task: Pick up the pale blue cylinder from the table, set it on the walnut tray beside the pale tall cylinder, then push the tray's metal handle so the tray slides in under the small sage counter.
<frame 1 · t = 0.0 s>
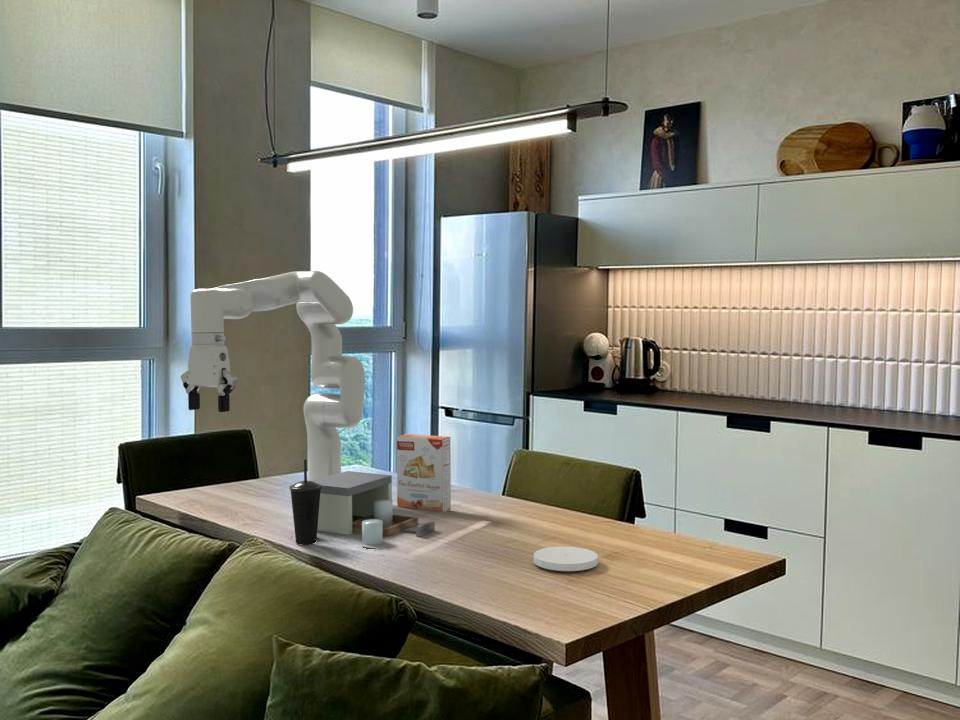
hand: (209, 410, 218), 31 cm above the table, tool pointing down, fingers open, 9 cm apart
cracker box: (423, 511, 249), on the table
pale tall cylinder b: (383, 524, 228), point 1 cm above the table, touching tray
plastic lid: (565, 567, 196), on the table
tray: (394, 526, 223), point 2 cm above the table, slide at 10.0 cm, touching pale tall cylinder b
counter: (348, 527, 230), on the table
pale blue cylinder a: (372, 546, 211), on the table
drinking cup: (306, 543, 215), on the table
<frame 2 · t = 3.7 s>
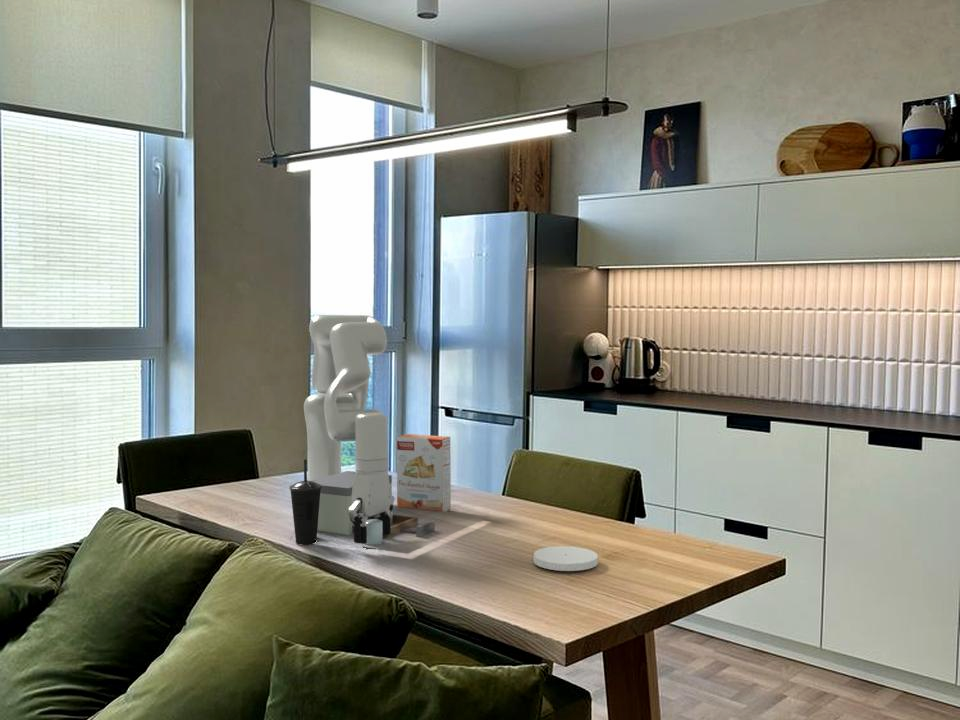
hand: (372, 538, 210), 2 cm above the table, tool pointing down, fingers open, 9 cm apart
tray: (394, 526, 223), point 2 cm above the table, slide at 10.0 cm, touching pale tall cylinder b, gripper
everything else where it was.
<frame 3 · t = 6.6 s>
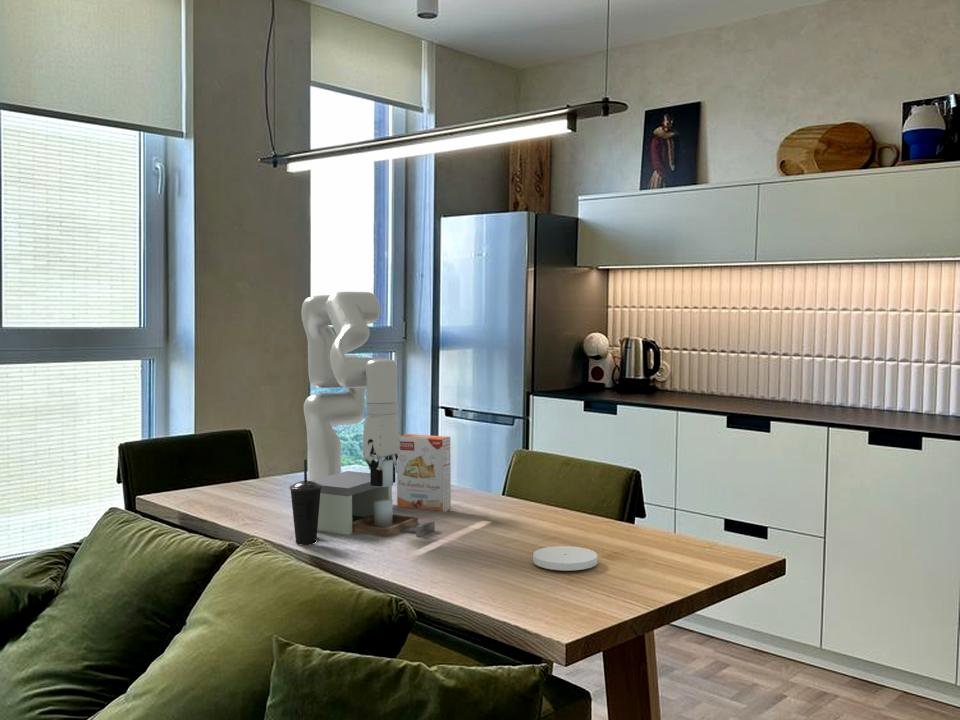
hand: (383, 483, 220), 13 cm above the table, tool pointing down, fingers closed on pale blue cylinder a, 4 cm apart
tray: (394, 526, 223), point 2 cm above the table, slide at 10.0 cm, touching pale tall cylinder b
pale blue cylinder a: (383, 485, 220), point 13 cm above the table, touching gripper
everything else where it was.
when the fingers open (3 cm above the table, at t = 8.2 s): pale blue cylinder a drops 2 cm, resting on tray.
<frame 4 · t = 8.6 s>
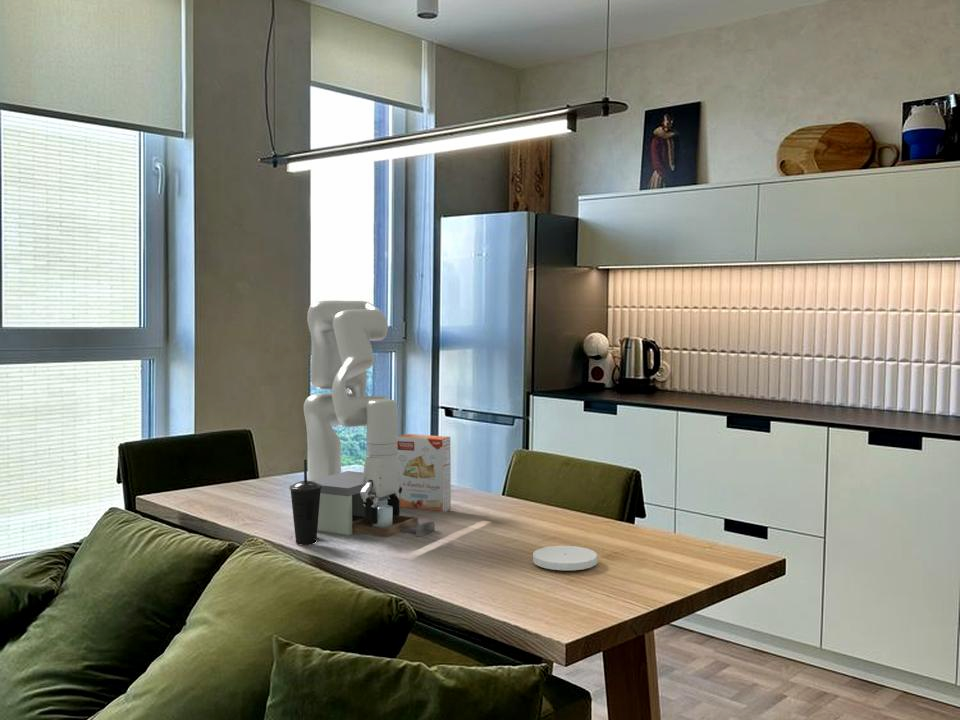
hand: (382, 519, 221), 4 cm above the table, tool pointing down, fingers open, 9 cm apart
tray: (394, 526, 223), point 2 cm above the table, slide at 10.0 cm, touching pale blue cylinder a, pale tall cylinder b
pale blue cylinder a: (382, 531, 221), point 1 cm above the table, touching tray
everything else where it was.
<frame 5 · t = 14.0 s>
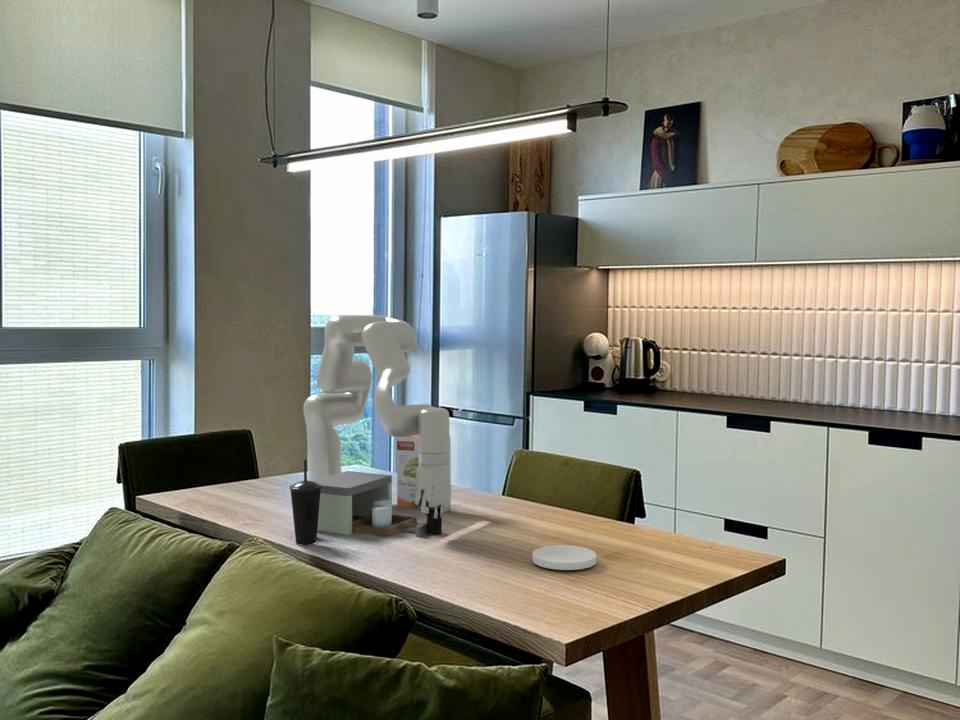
hand: (434, 533, 219), 1 cm above the table, tool pointing down, fingers closed
tray: (393, 526, 223), point 2 cm above the table, slide at 9.8 cm, touching pale blue cylinder a, pale tall cylinder b, gripper
everything else where it was.
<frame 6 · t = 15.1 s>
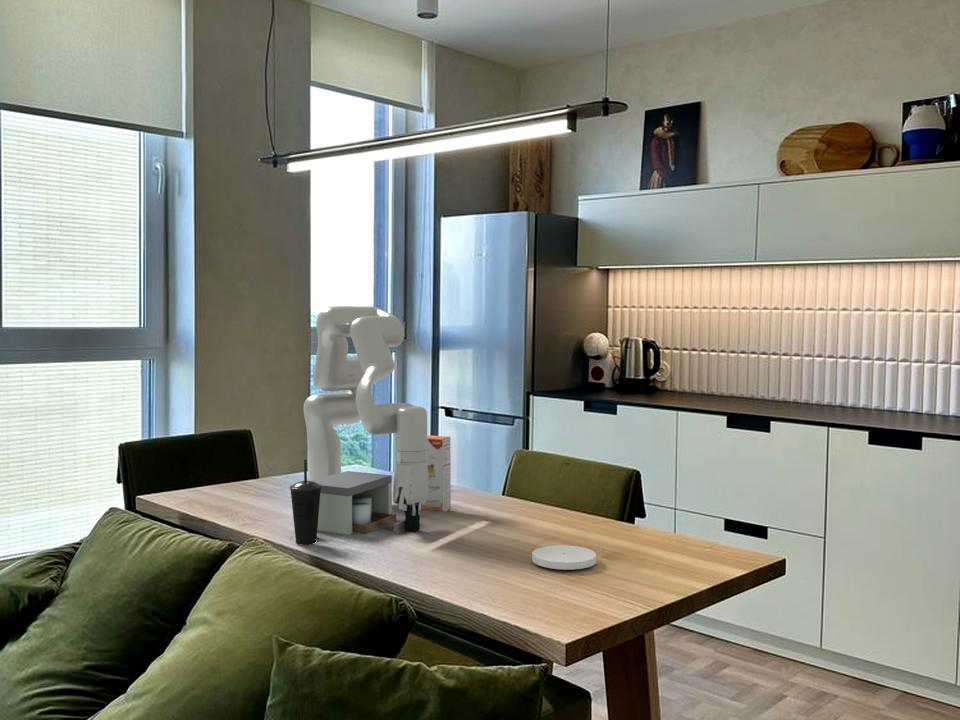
hand: (412, 530, 222), 1 cm above the table, tool pointing down, fingers closed
pale tall cylinder b: (362, 521, 231), point 1 cm above the table, touching tray
tray: (372, 523, 226), point 2 cm above the table, slide at 3.5 cm, touching pale blue cylinder a, pale tall cylinder b, gripper
pale blue cylinder a: (360, 528, 224), point 1 cm above the table, touching tray
everything else where it was.
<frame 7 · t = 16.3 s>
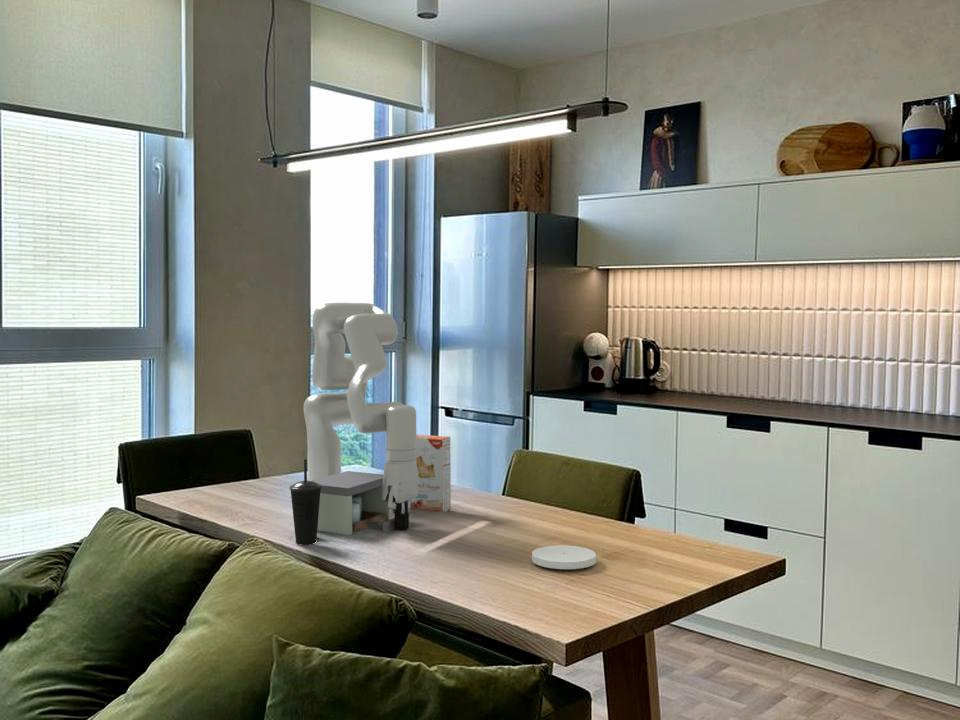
hand: (401, 528, 223), 1 cm above the table, tool pointing down, fingers closed
pale tall cylinder b: (352, 520, 233), point 1 cm above the table, touching tray
tray: (362, 521, 227), point 2 cm above the table, slide at 0.4 cm, touching pale blue cylinder a, pale tall cylinder b, gripper
pale blue cylinder a: (350, 527, 225), point 1 cm above the table, touching tray
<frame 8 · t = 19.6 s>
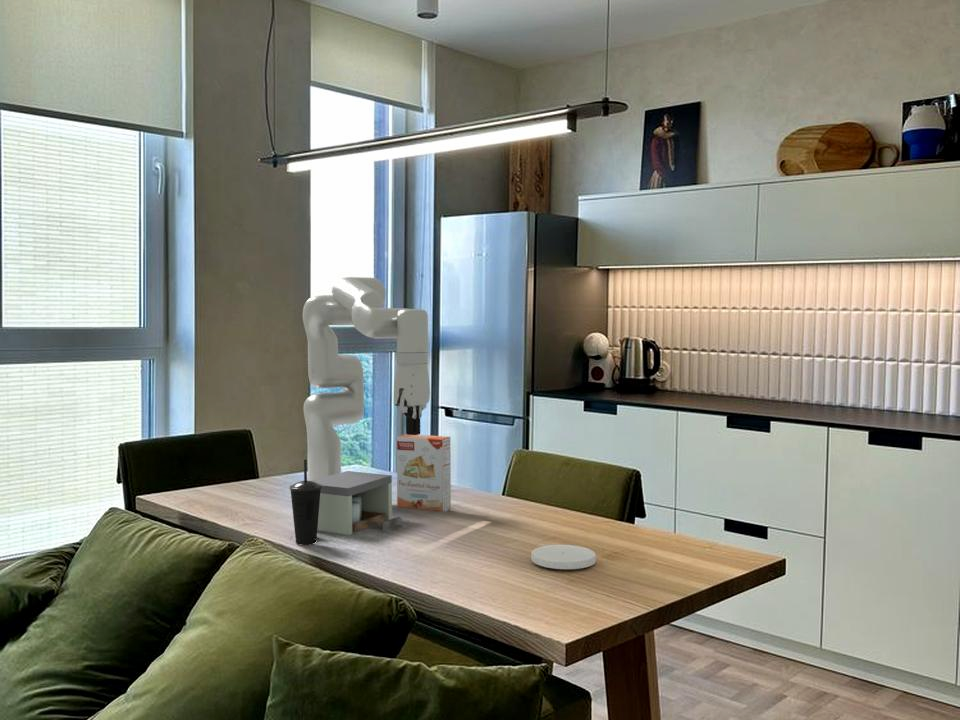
hand: (413, 434, 220), 25 cm above the table, tool pointing down, fingers closed
tray: (362, 521, 227), point 2 cm above the table, slide at 0.4 cm, touching pale blue cylinder a, pale tall cylinder b
at the end: tray slide at 0.4 cm; pale blue cylinder a inside the target area (4.1 cm from its centre), point 1.2 cm above the table; pale blue cylinder a tilted 0° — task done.
